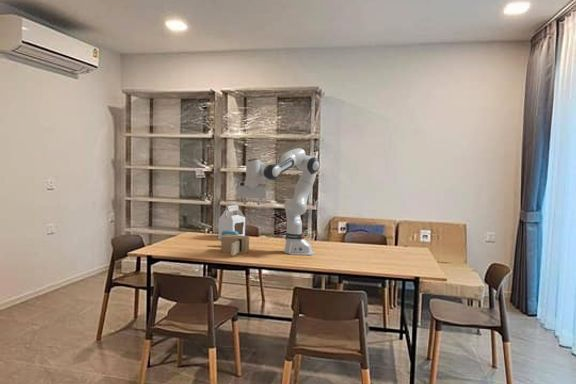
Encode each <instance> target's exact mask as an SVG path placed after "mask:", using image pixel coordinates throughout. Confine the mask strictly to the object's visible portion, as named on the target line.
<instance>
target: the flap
mask: <svg viewBox="0 0 576 384" xmlns="http://www.w3.org/2000/svg"><path fill="white" fill-rule="evenodd" d="M239 245H240V241H236V242H234V243H232V251H231V253H230V254H231V256H236V255H238V254H240V253H239Z"/></svg>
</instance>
